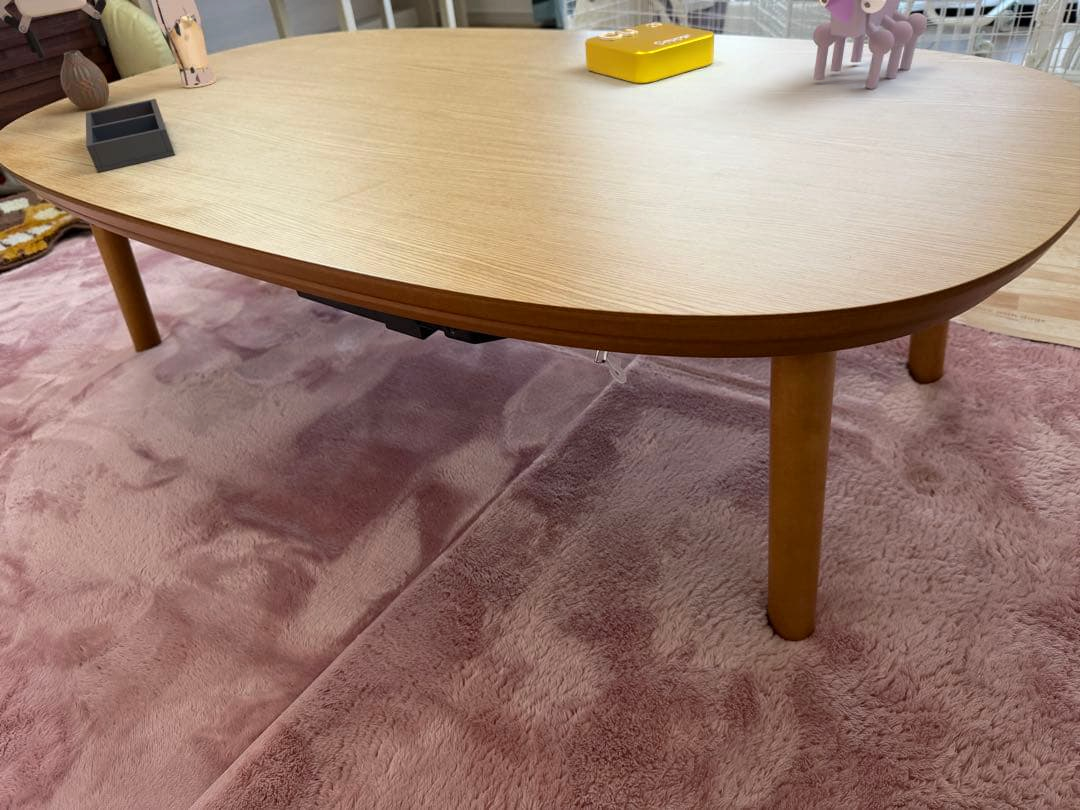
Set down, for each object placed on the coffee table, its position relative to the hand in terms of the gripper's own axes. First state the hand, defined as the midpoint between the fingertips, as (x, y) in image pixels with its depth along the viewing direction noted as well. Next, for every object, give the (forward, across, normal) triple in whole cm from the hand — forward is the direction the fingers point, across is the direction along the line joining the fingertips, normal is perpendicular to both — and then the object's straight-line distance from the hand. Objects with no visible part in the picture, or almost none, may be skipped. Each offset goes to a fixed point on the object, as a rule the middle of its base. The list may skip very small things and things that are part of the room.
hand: (73, 50), depth 134 cm
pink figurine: (+10, -94, +79) cm, 123 cm away
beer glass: (+9, -18, -1) cm, 20 cm away
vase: (+9, 0, 0) cm, 9 cm away
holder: (+9, -5, +31) cm, 33 cm away
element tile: (+10, -80, +51) cm, 95 cm away
